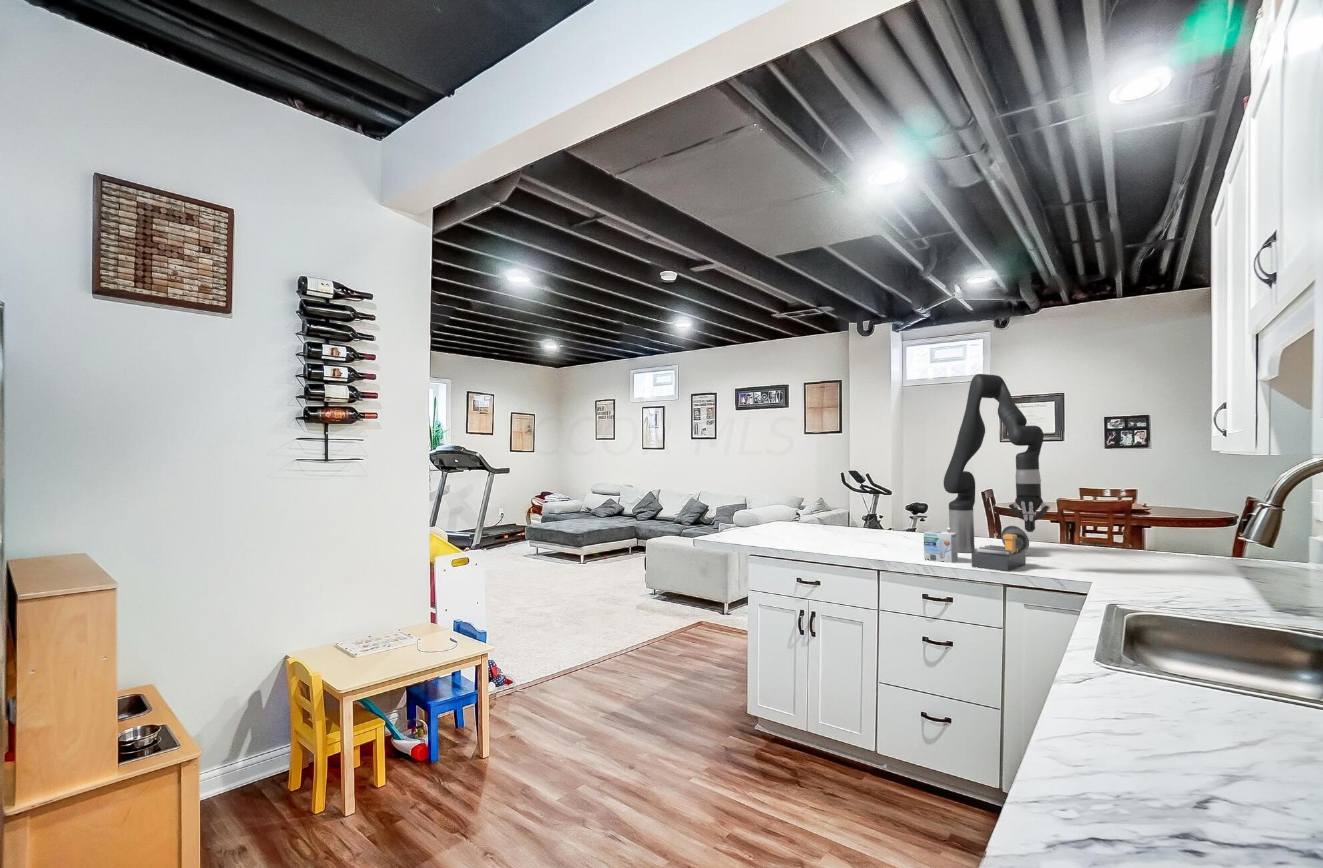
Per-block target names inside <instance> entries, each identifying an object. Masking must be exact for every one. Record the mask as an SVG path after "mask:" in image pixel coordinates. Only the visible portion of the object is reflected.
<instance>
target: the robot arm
mask: <svg viewBox="0 0 1323 868" xmlns="http://www.w3.org/2000/svg"><path fill="white" fill-rule="evenodd" d="M982 399H994V400H996V401H997V402H998V407H997V415H998V417H999V420H1000V421H1001V422H1002V423H1003V425H1004V427H1005V429H1006V431H1007V434H1008V440H1009V442H1010V443H1012V444H1013V445H1014V446H1019V447H1022V446H1026V447H1027V448H1026V450H1025V451H1022V452H1019V453H1017V454H1016V455H1015V493H1016V494H1015V495H1016V496H1015V497H1016V498H1015V499H1014V502H1013V503H1009V505H1008V507H1009V509H1010V510H1011V511H1012V512H1013V513H1014V515H1016V517H1017V518H1018V519H1020V520H1023V521H1024V529H1025V531H1026V532H1027V533H1029V532H1030V533H1032V532H1034V531H1036V521H1038V520H1041V519H1042V518H1043V517H1044V516H1045V514H1046V513H1047V512H1048V511H1049V510H1050V509H1051V506H1050V505H1048V504H1046V503H1045V502H1044V500H1043V498H1042V484H1041V482H1042V479H1041V473H1040V472H1041V471H1040V462H1039V461H1040V460H1039V458H1040V454H1041V449H1042V445H1043V443H1044V437H1045V436H1044V435H1045V434H1044V432H1043V429H1042V428H1041V427H1040V426H1038V425H1027V422H1028V420H1027V418H1026V416H1025V415H1024V414H1023V412H1022V411H1021V410H1020V409H1019V407H1018V406H1017V404H1016V403H1015V401H1014V400H1013V397H1012V395H1011V392H1010V390H1009V389H1008V386H1007V384H1006V382H1005V381H1004V379H1003V377H1001V376H1000V375H996V374H986V373H977V374H975V375H974V376H973V377H972V379H971V381H970V385H969V388H968V394H967V400H966V406H965V410H964V413H963V418H962V420H961V424H960V428H959V431H958V435H957V440H956V444H955V447H954V449H953V452H952V453H953V454H952V456H951V459H950V462H949V464H948V467H947V469H946V471H945V474H944V477H943V488H944V491H946V492H947V493H948V494H952V495H953V494H957V497H956V498H955V499H954V500H952V501H950V502H949V503H948V517H949V518H948V520H949V521H948V523H949V527H947V529H946V530H947V531H946V532H955V533H957V553H974V552H976V551H975V525H974V523H975V519H974V506H975V503H976V480H975V477H974V475H973V473H972V472H970V471H967V470H965V467H966V465H968V462H969V461H970V460H972V458H973V457H974V456H975V455H976V453H977V452H978V451H979V450H980V448H981V447H982V445H983V442H984V437H985V435H986V425H985V423H984V420H983V418H982V414H981V410H980V409H981V408H980V407H981V401H982ZM964 470H965V471H964ZM1019 508H1020V509H1021V510H1020V509H1019ZM1039 508H1040V510H1039ZM1037 510H1039V511H1038V513H1037Z"/></svg>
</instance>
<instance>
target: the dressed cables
mask: <svg viewBox="0 0 1323 868" xmlns="http://www.w3.org/2000/svg"><path fill="white" fill-rule="evenodd" d="M989 546H995V547H1005V545H1003V546H1002V545H994V544H993V545H992V544H990V545H989ZM1016 549H1018V552H1021V549H1020V548H1016ZM976 552H978V553H987V554H996V555H1005V556H1009V555H1010V553H1009V552H1006V551H996V550H987V549H979V548H976Z"/></svg>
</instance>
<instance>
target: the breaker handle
mask: <svg viewBox="0 0 1323 868" xmlns="http://www.w3.org/2000/svg"><path fill="white" fill-rule="evenodd" d="M1016 538H1017V535H1013V534H1005V535H1003V539H1005V545H1004V547H1005V550H1013V553H1015V552H1016V547H1015V539H1016Z"/></svg>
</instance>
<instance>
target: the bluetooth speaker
mask: <svg viewBox="0 0 1323 868" xmlns="http://www.w3.org/2000/svg"><path fill="white" fill-rule="evenodd" d="M1005 534H1013V535H1017V538H1016V539H1015V547H1016V548H1020V549H1021V551H1025V552H1026V551H1028V549H1029V546H1030V540H1029V537H1028V535H1027V534H1026V532H1025V531H1024V530H1023V529H1022V528H1020V527H1018V526H1015V525H1008V526H1006V527H1004V528H1003V530H1002V531H1001V534H1000V536H1001V537H1000V538H1001V541H1002V544H1003V546H1005V539H1003V535H1005Z"/></svg>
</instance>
